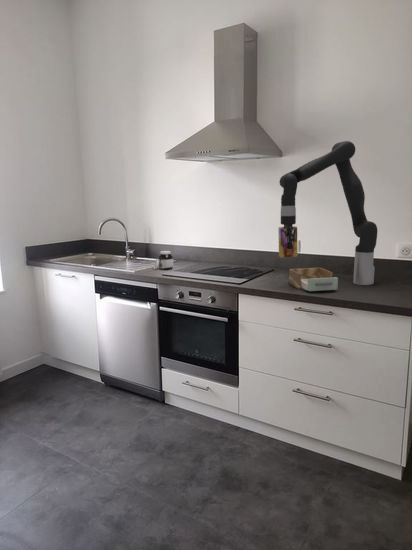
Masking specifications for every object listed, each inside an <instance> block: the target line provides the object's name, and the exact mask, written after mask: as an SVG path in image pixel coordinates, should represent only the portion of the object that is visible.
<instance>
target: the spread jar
mask: <svg viewBox="0 0 412 550" xmlns="http://www.w3.org/2000/svg"><path fill="white" fill-rule="evenodd" d="M157 257H158V258H155V260H154V263H153V270H158V268H159V269H160V270H162V271H170V270H172V269H173V268H174V257H173V255H172V253H171V250H160V251H159V254H158V256H157Z"/></svg>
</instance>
